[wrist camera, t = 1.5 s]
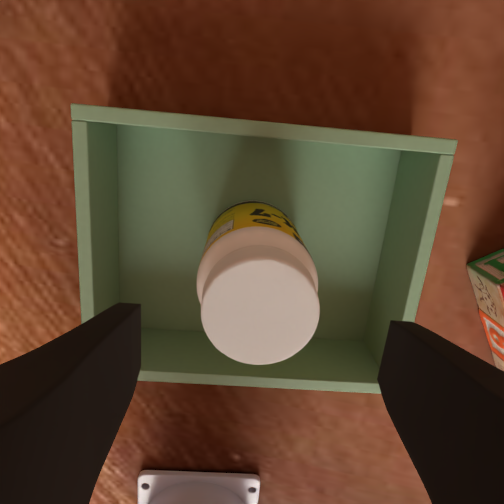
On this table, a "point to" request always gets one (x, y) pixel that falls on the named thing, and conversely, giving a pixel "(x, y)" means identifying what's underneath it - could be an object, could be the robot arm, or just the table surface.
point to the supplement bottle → (257, 285)
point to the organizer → (266, 190)
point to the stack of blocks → (490, 299)
